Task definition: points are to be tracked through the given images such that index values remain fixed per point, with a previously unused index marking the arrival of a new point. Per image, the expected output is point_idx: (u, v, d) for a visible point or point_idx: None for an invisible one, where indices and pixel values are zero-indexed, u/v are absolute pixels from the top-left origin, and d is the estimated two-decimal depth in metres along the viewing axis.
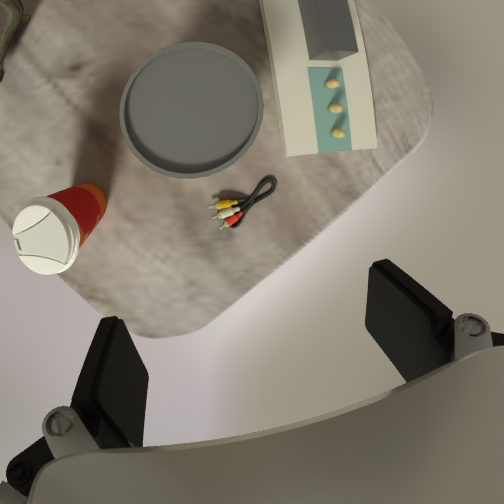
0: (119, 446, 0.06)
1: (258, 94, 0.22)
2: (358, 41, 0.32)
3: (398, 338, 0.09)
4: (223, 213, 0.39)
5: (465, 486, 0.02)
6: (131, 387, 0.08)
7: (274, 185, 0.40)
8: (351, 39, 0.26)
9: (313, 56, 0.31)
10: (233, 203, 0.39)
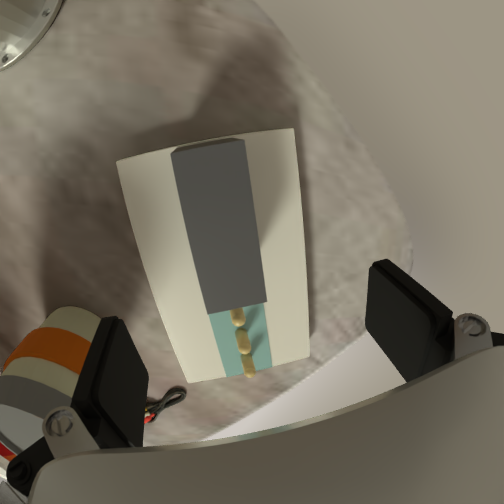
0: (119, 446, 0.06)
1: None
2: (293, 218, 0.25)
3: (398, 338, 0.09)
4: None
5: (465, 486, 0.02)
6: (131, 387, 0.08)
7: (183, 395, 0.33)
8: (254, 283, 0.19)
9: None
10: None
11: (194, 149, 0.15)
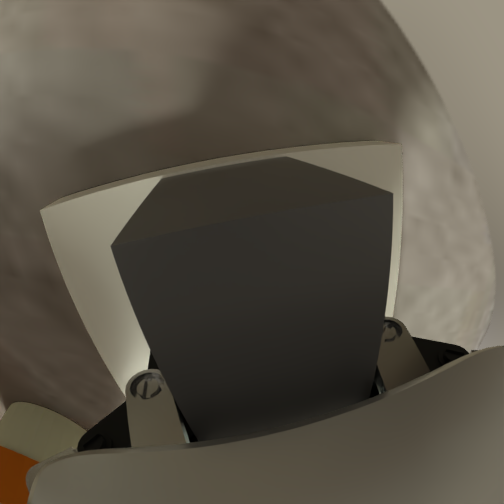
0: None
1: None
2: None
3: None
4: None
5: (465, 486, 0.02)
6: None
7: None
8: None
9: None
10: None
11: (207, 228, 0.04)
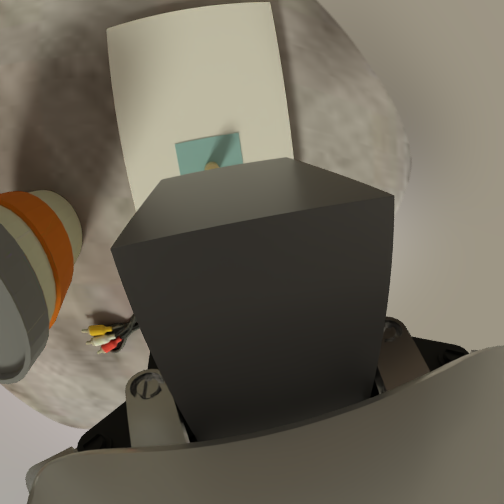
0: None
1: (9, 301, 0.11)
2: (273, 76, 0.21)
3: None
4: (96, 342, 0.28)
5: (465, 486, 0.02)
6: None
7: None
8: None
9: None
10: (107, 330, 0.29)
11: (208, 231, 0.04)
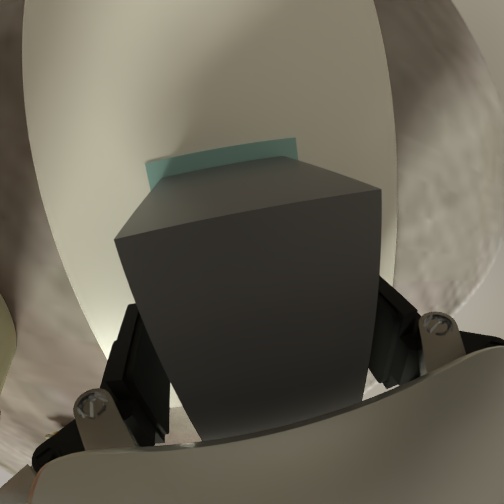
0: (149, 428, 0.07)
1: None
2: (363, 26, 0.08)
3: None
4: None
5: (465, 486, 0.02)
6: (158, 371, 0.09)
7: None
8: None
9: None
10: None
11: (204, 222, 0.04)
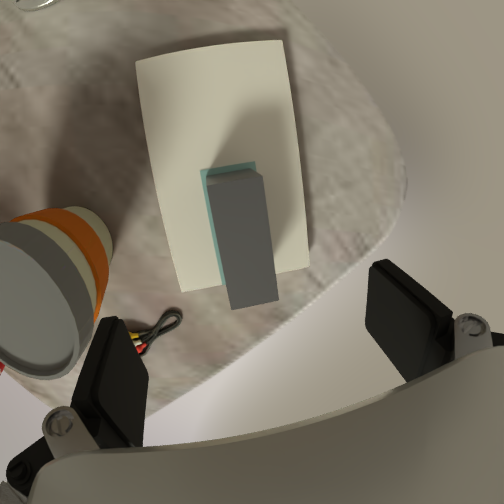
0: (119, 446, 0.06)
1: (65, 306, 0.15)
2: (285, 110, 0.26)
3: (398, 338, 0.09)
4: None
5: (465, 486, 0.02)
6: (131, 387, 0.08)
7: (178, 319, 0.34)
8: (268, 285, 0.25)
9: None
10: (134, 337, 0.33)
11: (224, 182, 0.21)
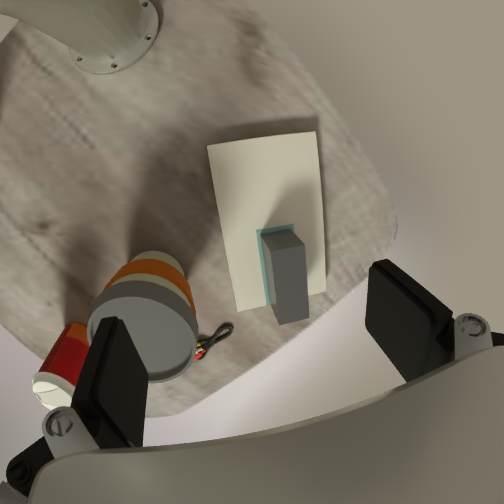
0: (119, 446, 0.06)
1: (190, 335, 0.29)
2: (315, 187, 0.38)
3: (398, 338, 0.09)
4: None
5: (465, 486, 0.02)
6: (131, 387, 0.08)
7: (230, 330, 0.47)
8: (303, 309, 0.38)
9: (271, 306, 0.42)
10: (197, 345, 0.46)
11: (281, 249, 0.34)
